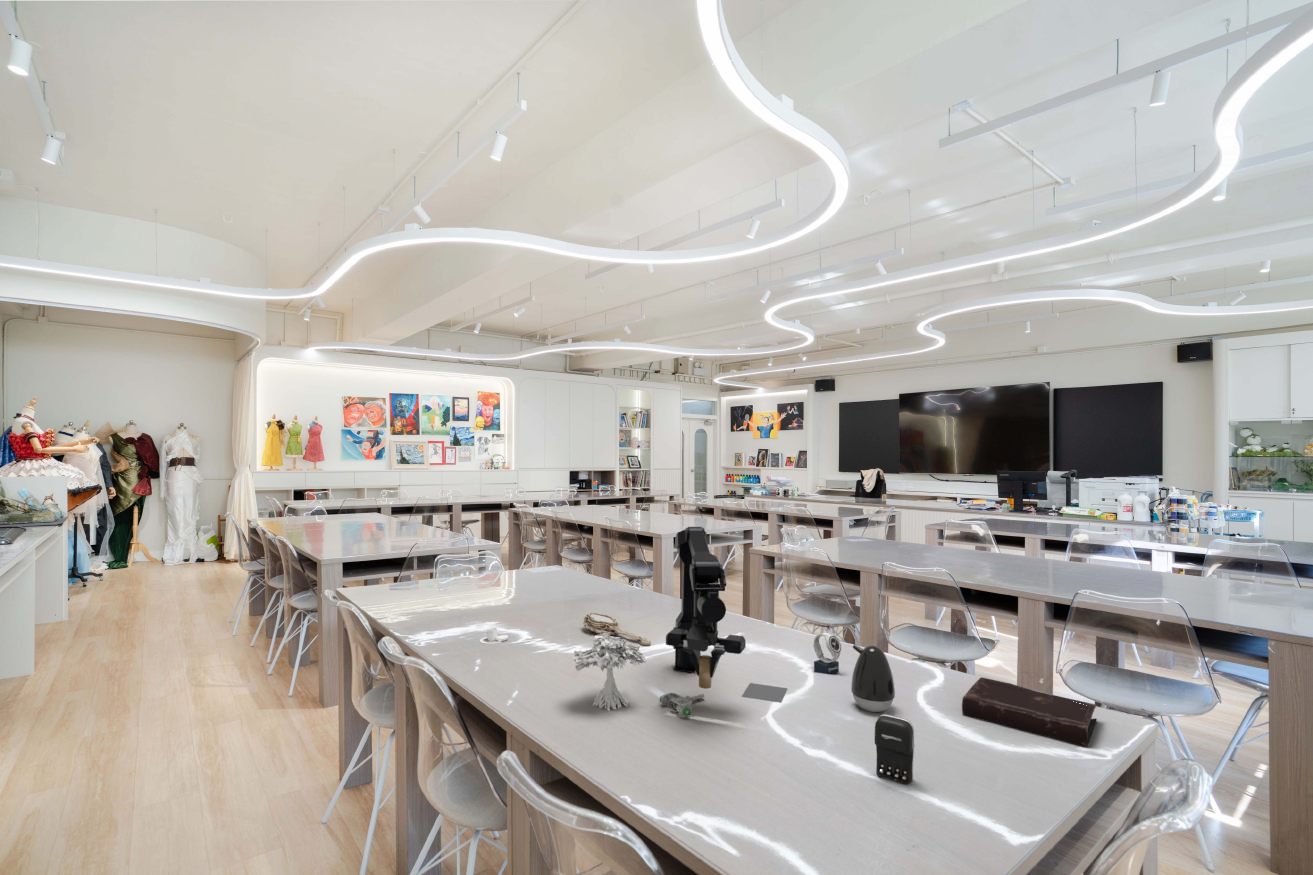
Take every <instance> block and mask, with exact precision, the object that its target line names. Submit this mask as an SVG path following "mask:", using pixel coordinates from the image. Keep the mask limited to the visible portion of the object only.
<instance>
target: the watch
mask: <svg viewBox="0 0 1313 875" xmlns="http://www.w3.org/2000/svg"><path fill="white" fill-rule="evenodd" d="M822 636H824V640H825V647H826V648H827V650H828V651H829V653H830V655H831V657H832V658H828V657H825V656H824V655H825V654H824V651H823V649H822V646H821V643H820V638H821V637H822ZM812 645H813V649H814V652H815V655H816V656H817V658H818V660H815V661H813V673H816V674H823V675H825V674H826V675H832V676H833V675H836V674H839V673H840V670H839V668H840V667H839V666H840V665H839V663H840V662H839V661H838V659H839V657H840V655H841V652H842V644H841V641H840V640H839V638H838V637H836V636H835V635H833V634H832V633H829V632H822V633H819V634H817V635H816V636H815V637H814V639H813V644H812Z"/></svg>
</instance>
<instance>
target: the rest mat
mask: <svg viewBox="0 0 1313 875" xmlns="http://www.w3.org/2000/svg"><path fill="white" fill-rule="evenodd" d="M788 689H789V688H787V687H779V686H773V685H767V684H766V685H765V684H761V683H760V684H759V683H753V682H750V683H749V684H748V685H747V687H746V688H745V690H744V691H743V693H742V695H741V697H743V698H748V699H754V700H760V701H761V700H762V701H766V702H767V701H768V702H774V703H780V704H781V703H782V702H783V700H784V698H785V696H786V694H787V691H788Z"/></svg>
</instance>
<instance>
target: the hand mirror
mask: <svg viewBox="0 0 1313 875" xmlns="http://www.w3.org/2000/svg"><path fill="white" fill-rule="evenodd" d="M582 624H583V627H585V628H586V629H587V630H589V631H591V632H593V633H596V634H601V633H602V634H604V633H605V634H606V633H608V634H610V635H609V636H615V635H617V634H618V635H621V636H625V637H627V638H629V639H631V640H633V641H636V642H638V643H640V645H641V646H647V647H649V646H650V645H651V644H652V641H651V640H650V639H647V638H645V637H642V636H640V635H636V634H633V633H629V632H628V631H626V630H624V629H623V628H622V627H620V625H619V624H620V623H619V622H618V620H617V619H616V618H614V617H613V616H611V615H609V614H603V613H599V612H591V613H588V614H586V615H585V617H584V619H583V623H582Z"/></svg>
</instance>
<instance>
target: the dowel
mask: <svg viewBox="0 0 1313 875" xmlns="http://www.w3.org/2000/svg"><path fill="white" fill-rule="evenodd" d="M711 659H712V656H711V655H706V654H705V655H704V654H703V655H702V654H701V656H699V676H698V687H699V688H701V689H705V690H706V689H711V688H712V678H711V677H710V669H711Z"/></svg>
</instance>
